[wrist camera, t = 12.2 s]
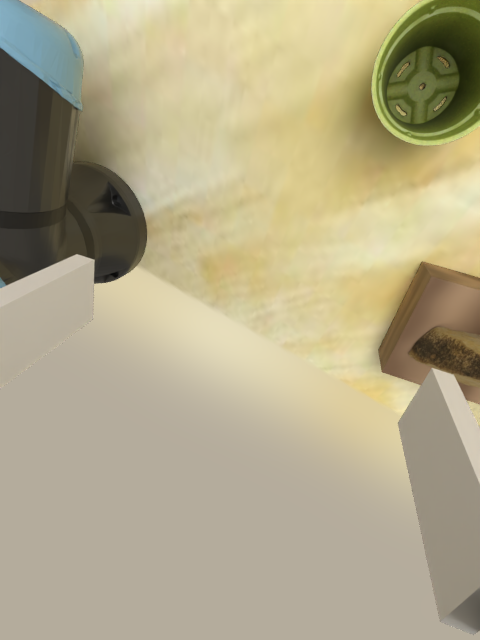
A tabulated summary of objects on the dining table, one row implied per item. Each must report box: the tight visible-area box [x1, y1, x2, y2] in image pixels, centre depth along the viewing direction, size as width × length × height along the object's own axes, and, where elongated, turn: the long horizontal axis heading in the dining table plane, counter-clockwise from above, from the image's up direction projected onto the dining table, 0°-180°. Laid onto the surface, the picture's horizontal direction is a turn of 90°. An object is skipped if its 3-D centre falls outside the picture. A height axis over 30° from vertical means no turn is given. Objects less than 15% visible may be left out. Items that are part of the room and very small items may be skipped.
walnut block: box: [379, 262, 480, 404], centre depth 39 cm, size 14×12×5 cm
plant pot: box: [371, 0, 480, 146], centre depth 29 cm, size 9×9×9 cm
